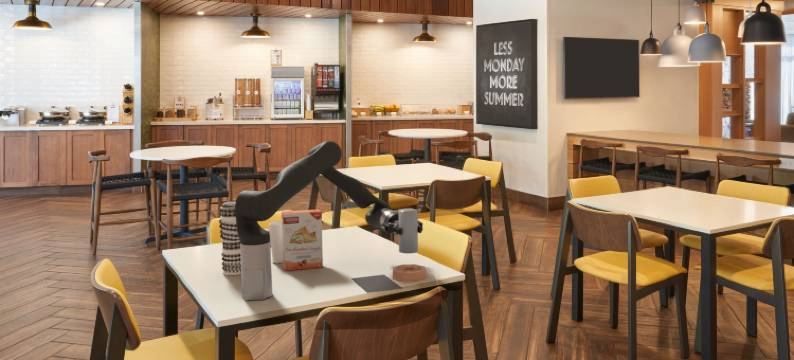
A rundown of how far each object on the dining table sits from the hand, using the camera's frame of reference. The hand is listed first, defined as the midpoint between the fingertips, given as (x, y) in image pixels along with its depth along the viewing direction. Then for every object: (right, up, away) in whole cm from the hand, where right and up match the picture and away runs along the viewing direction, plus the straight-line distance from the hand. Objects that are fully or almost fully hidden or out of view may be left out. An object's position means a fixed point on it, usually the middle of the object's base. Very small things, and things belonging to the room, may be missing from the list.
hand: (410, 230), depth 225 cm
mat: (-11, -18, -3) cm, 21 cm away
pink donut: (-1, -17, +4) cm, 17 cm away
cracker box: (-39, -15, +21) cm, 47 cm away
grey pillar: (-1, -7, +3) cm, 8 cm away
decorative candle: (-63, -16, +17) cm, 67 cm away
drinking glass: (-49, -14, +30) cm, 59 cm away
